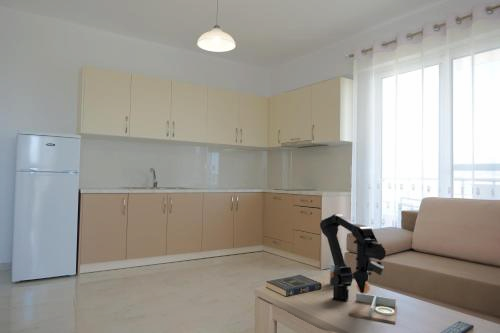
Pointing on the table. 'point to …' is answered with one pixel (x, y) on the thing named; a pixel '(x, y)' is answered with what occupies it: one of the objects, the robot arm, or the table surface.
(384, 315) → the board
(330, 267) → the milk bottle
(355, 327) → the table surface
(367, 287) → the ball
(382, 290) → the table surface
